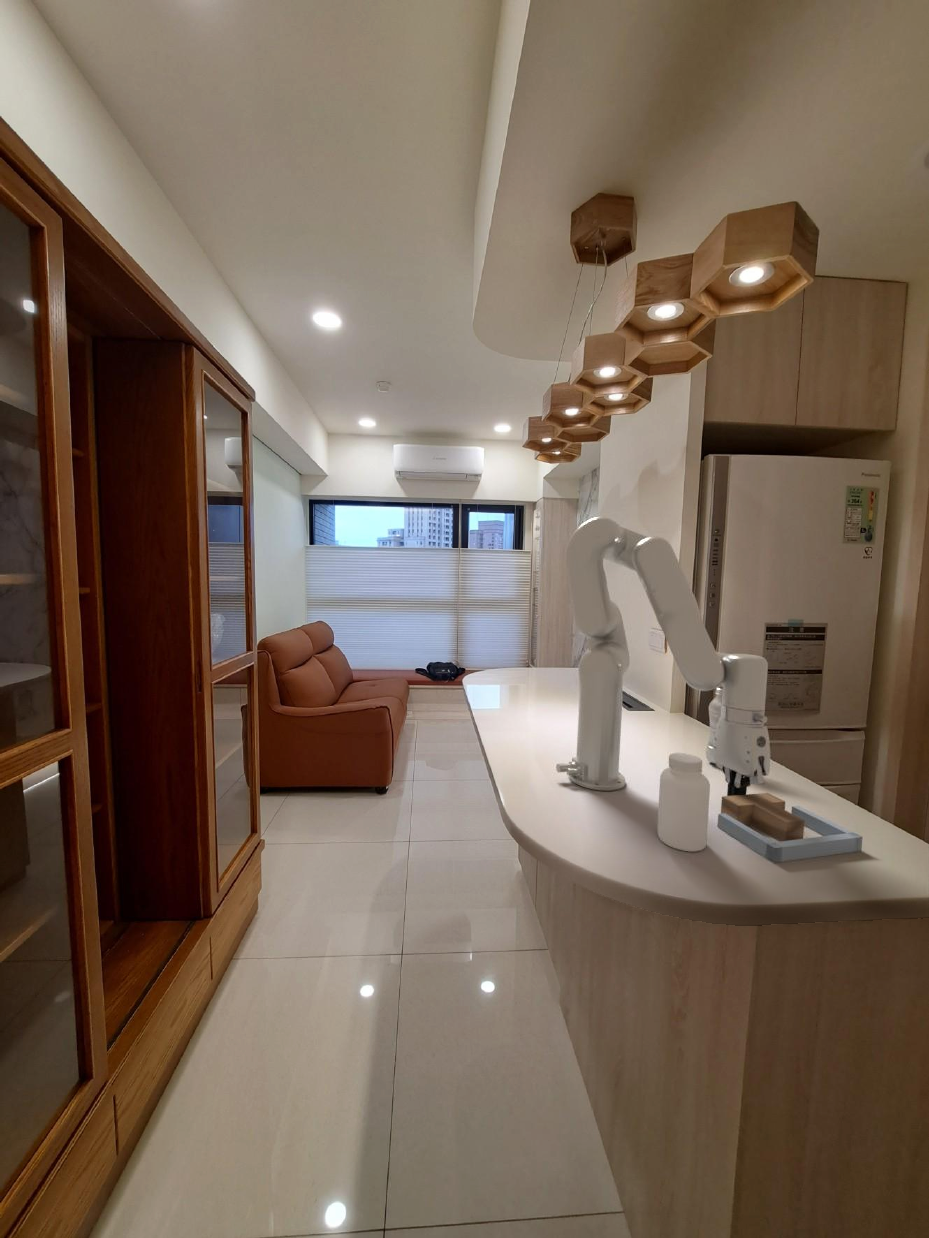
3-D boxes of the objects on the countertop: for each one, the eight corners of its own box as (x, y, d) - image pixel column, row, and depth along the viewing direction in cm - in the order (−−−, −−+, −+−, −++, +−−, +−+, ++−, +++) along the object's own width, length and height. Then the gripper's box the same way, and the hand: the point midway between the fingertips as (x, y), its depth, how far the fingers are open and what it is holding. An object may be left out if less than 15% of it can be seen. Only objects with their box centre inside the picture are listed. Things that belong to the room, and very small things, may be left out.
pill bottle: (649, 828, 87) (654, 748, 86) (693, 830, 87) (699, 750, 86) (666, 851, 79) (672, 764, 78) (715, 854, 79) (721, 767, 78)
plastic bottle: (738, 770, 118) (743, 691, 117) (709, 767, 120) (714, 689, 119) (729, 761, 125) (734, 686, 124) (701, 758, 126) (706, 684, 125)
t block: (768, 845, 82) (770, 823, 82) (720, 816, 93) (722, 796, 93) (818, 840, 85) (820, 818, 85) (766, 811, 96) (767, 792, 95)
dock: (773, 862, 77) (774, 848, 77) (717, 826, 89) (718, 813, 88) (861, 850, 82) (862, 836, 82) (797, 817, 93) (798, 805, 93)
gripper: (790, 725, 89) (783, 819, 90) (727, 705, 103) (722, 787, 104) (759, 726, 87) (752, 823, 88) (699, 706, 101) (694, 789, 102)
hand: (736, 803), depth 96 cm, fingers closed
